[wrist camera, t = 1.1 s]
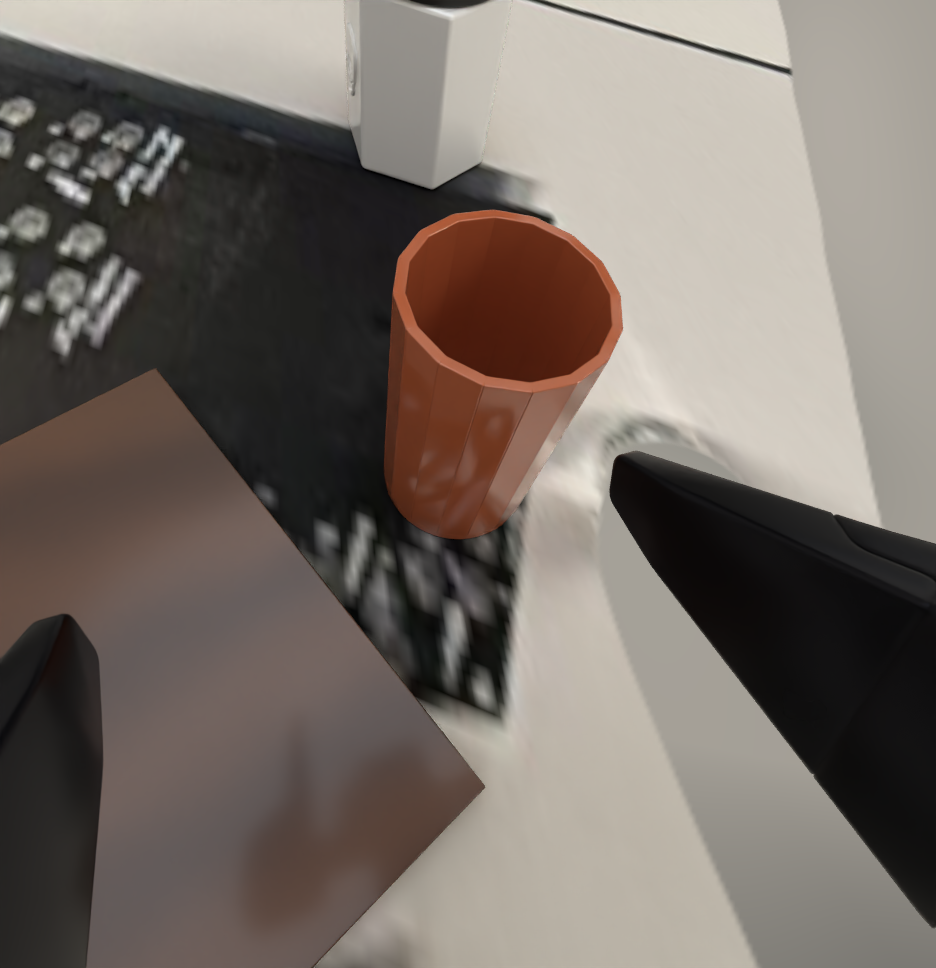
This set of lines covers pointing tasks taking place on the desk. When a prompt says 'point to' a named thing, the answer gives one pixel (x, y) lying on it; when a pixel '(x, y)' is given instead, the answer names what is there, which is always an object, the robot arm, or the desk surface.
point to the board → (215, 696)
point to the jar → (422, 83)
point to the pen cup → (488, 363)
